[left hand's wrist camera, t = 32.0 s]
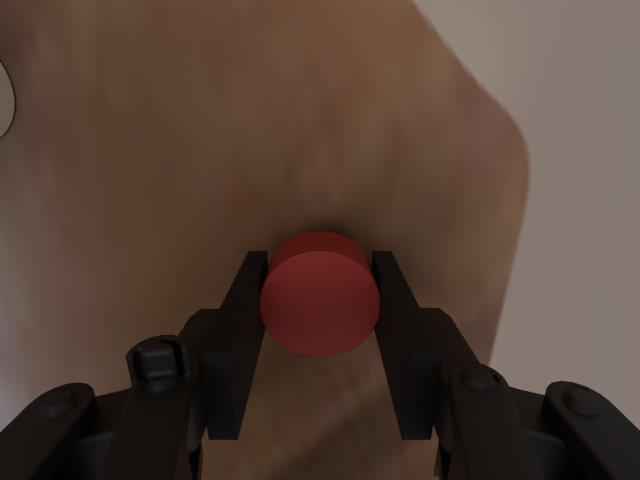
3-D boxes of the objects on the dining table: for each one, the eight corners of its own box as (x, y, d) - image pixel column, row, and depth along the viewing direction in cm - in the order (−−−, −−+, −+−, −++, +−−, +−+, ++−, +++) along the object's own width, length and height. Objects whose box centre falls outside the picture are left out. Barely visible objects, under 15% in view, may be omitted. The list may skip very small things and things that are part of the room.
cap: (247, 262, 14) (234, 287, 12) (340, 211, 14) (344, 228, 12) (301, 340, 16) (298, 374, 14) (389, 297, 15) (400, 326, 13)
